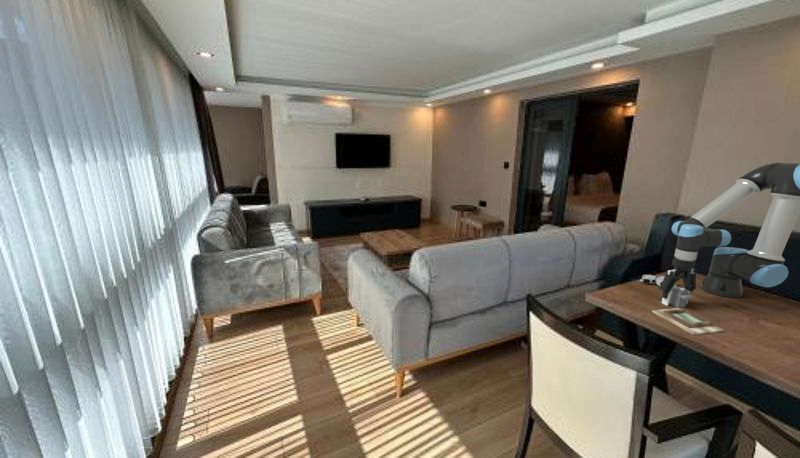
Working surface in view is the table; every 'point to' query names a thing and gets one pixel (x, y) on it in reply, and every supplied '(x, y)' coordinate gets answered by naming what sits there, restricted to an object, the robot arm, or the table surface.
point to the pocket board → (688, 321)
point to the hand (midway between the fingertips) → (674, 303)
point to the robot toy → (653, 279)
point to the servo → (679, 297)
